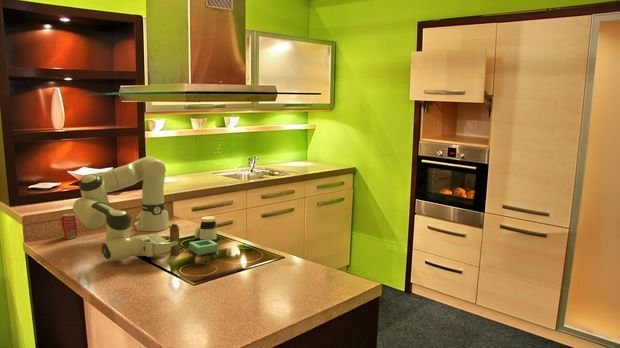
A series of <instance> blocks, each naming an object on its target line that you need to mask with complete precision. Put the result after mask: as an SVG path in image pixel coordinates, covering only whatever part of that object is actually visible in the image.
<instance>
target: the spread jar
mask: <svg viewBox="0 0 620 348" xmlns="http://www.w3.org/2000/svg"><path fill="white" fill-rule="evenodd" d="M200 221H201V222H200V225H199V226H198V227H197V228H196V229H195V231H194V237H195V238H197V239H200V241H201V240H206V239H210V240H212V241H214V242H216V241H217V238H218V237H217V236H218V227H217V226H218V225H217V222H216V216H211V215H210V216H209V215H208V216H202V217H201V220H200Z"/></svg>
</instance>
